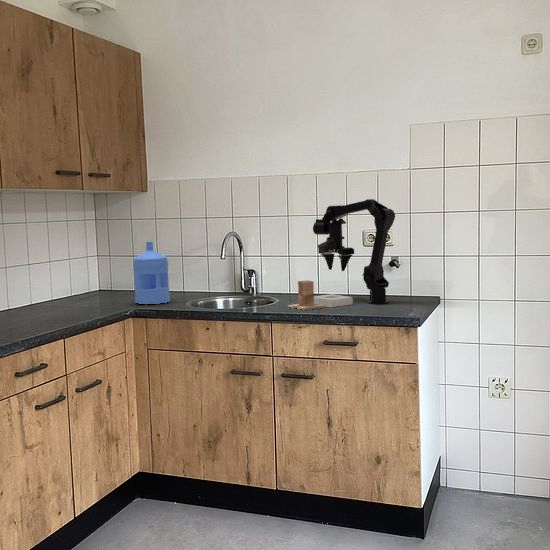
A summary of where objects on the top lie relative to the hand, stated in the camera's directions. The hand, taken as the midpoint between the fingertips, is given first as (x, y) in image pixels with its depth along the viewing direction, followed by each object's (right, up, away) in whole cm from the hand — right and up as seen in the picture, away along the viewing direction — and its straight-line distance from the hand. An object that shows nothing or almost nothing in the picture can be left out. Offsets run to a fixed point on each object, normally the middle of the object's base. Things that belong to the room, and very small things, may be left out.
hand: (336, 270), depth 289 cm
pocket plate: (-3, -14, -10) cm, 18 cm away
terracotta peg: (-14, -15, -17) cm, 26 cm away
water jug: (-83, -15, +15) cm, 85 cm away
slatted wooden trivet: (-14, -15, -17) cm, 27 cm away
